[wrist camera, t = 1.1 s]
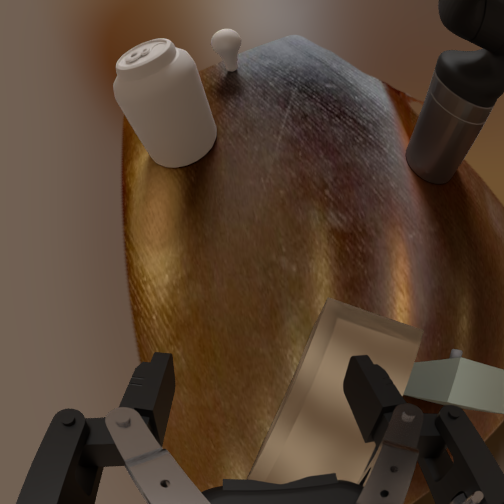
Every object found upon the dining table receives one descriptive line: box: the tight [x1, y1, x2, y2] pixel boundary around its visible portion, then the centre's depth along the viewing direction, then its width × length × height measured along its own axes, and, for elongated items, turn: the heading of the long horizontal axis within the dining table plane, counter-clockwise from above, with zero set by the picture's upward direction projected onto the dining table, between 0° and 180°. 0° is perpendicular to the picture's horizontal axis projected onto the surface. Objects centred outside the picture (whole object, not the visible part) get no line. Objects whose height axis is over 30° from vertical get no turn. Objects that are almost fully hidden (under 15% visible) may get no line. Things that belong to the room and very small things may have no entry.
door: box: [403, 349, 504, 414], centre depth 24 cm, size 5×8×13 cm, turn 67°
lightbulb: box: [211, 29, 241, 72], centre depth 51 cm, size 6×6×11 cm
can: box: [113, 39, 217, 168], centre depth 40 cm, size 12×12×20 cm
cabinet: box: [247, 297, 424, 484], centre depth 23 cm, size 18×19×15 cm
